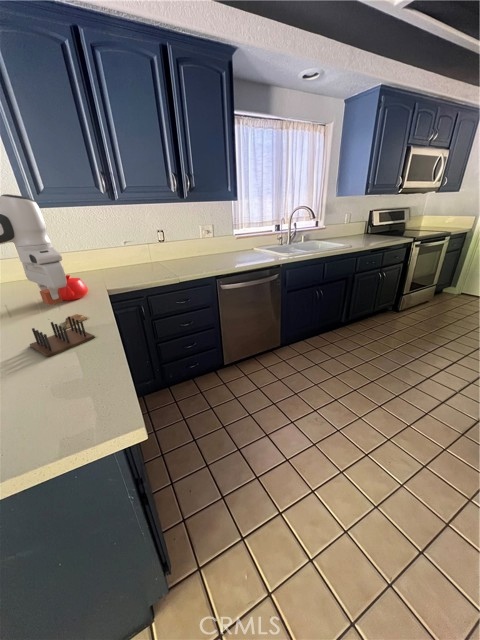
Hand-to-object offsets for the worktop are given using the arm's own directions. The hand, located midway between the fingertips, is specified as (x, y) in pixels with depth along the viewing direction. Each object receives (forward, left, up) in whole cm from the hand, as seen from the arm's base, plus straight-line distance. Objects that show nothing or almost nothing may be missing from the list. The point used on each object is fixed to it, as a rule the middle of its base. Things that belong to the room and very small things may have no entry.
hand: (51, 297), depth 85 cm
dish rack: (+1, +7, -19) cm, 20 cm away
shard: (+13, +21, -19) cm, 31 cm away
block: (0, 0, -2) cm, 2 cm away
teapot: (+30, +56, -19) cm, 66 cm away
